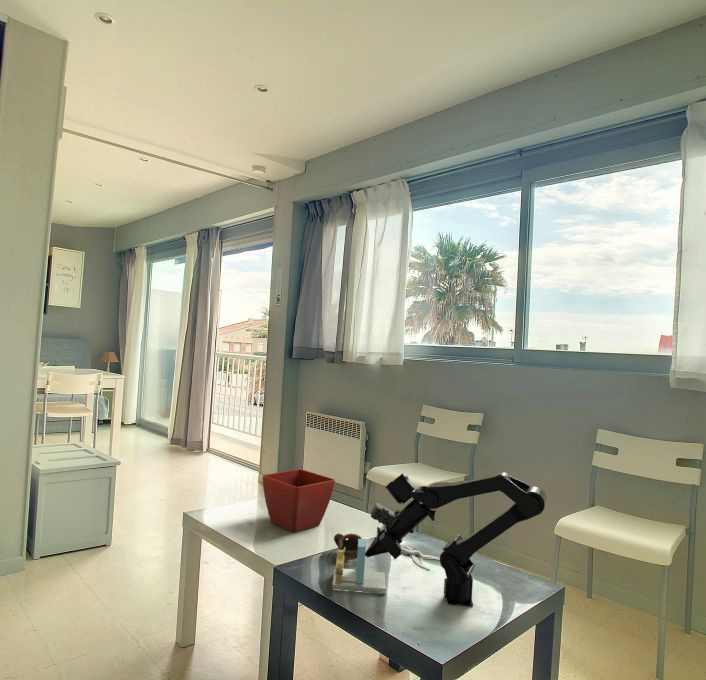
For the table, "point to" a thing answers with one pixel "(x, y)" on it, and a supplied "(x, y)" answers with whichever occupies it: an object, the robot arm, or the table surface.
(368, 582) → the block holder base
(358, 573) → the clip bar
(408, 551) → the pliers
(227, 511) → the table surface
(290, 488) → the plant pot
